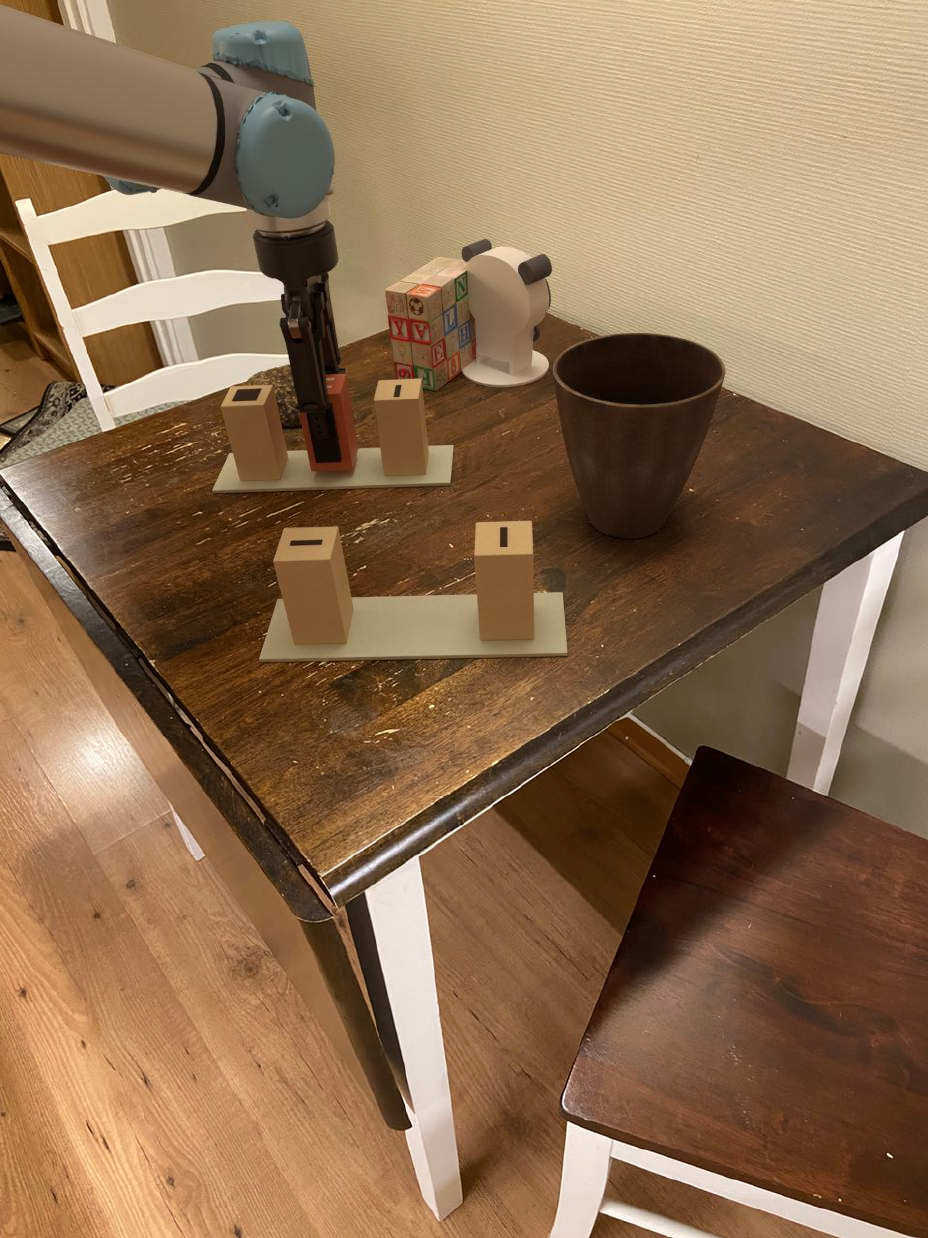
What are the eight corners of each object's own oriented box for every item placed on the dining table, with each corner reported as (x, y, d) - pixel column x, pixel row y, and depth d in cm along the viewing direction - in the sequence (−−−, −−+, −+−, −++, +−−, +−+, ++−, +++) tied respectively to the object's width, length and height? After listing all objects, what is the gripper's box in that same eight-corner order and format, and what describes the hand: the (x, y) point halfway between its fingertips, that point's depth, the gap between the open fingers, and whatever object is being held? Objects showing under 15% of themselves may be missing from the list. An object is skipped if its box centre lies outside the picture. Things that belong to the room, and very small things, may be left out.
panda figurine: (570, 365, 115) (572, 246, 105) (512, 397, 109) (508, 274, 99) (502, 342, 121) (498, 228, 112) (444, 371, 116) (434, 253, 106)
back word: (212, 493, 96) (189, 414, 90) (230, 455, 102) (209, 379, 96) (450, 485, 94) (443, 404, 88) (453, 447, 100) (447, 369, 94)
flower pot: (586, 466, 96) (590, 322, 85) (722, 495, 90) (745, 344, 79) (527, 540, 86) (524, 387, 75) (676, 578, 80) (695, 418, 70)
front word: (259, 662, 75) (234, 574, 69) (278, 602, 81) (256, 516, 75) (567, 656, 73) (569, 565, 67) (562, 595, 79) (564, 506, 73)
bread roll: (220, 414, 110) (210, 376, 107) (289, 375, 117) (282, 339, 114) (294, 439, 104) (285, 400, 101) (362, 396, 111) (356, 359, 108)
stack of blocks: (479, 322, 127) (474, 233, 119) (517, 329, 124) (515, 238, 116) (395, 383, 114) (383, 287, 106) (435, 392, 111) (426, 295, 103)
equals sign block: (311, 471, 96) (295, 394, 90) (317, 450, 99) (303, 374, 93) (352, 469, 95) (340, 392, 90) (358, 448, 99) (346, 372, 93)
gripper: (317, 255, 74) (356, 491, 89) (345, 194, 88) (375, 408, 103) (229, 260, 75) (283, 493, 90) (271, 199, 88) (312, 411, 103)
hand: (332, 447), depth 96 cm, fingers closed on equals sign block, 5 cm apart
